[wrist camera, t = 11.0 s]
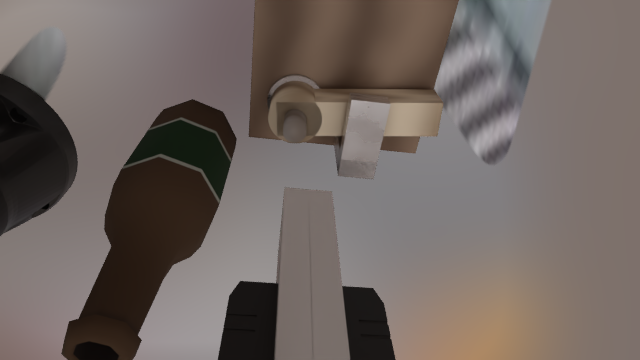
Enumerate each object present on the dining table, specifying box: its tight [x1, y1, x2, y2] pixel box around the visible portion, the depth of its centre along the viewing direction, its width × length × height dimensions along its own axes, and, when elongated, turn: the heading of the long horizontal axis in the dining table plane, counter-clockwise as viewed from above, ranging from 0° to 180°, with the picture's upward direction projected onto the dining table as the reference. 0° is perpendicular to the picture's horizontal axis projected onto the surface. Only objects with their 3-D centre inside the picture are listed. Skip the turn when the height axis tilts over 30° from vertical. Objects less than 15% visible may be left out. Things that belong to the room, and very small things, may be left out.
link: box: [268, 81, 443, 143], centre depth 36 cm, size 14×4×5 cm, turn 89°
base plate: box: [249, 0, 459, 153], centre depth 36 cm, size 16×19×1 cm
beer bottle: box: [62, 99, 236, 360], centre depth 31 cm, size 8×8×24 cm
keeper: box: [267, 74, 391, 179], centre depth 36 cm, size 10×7×6 cm
